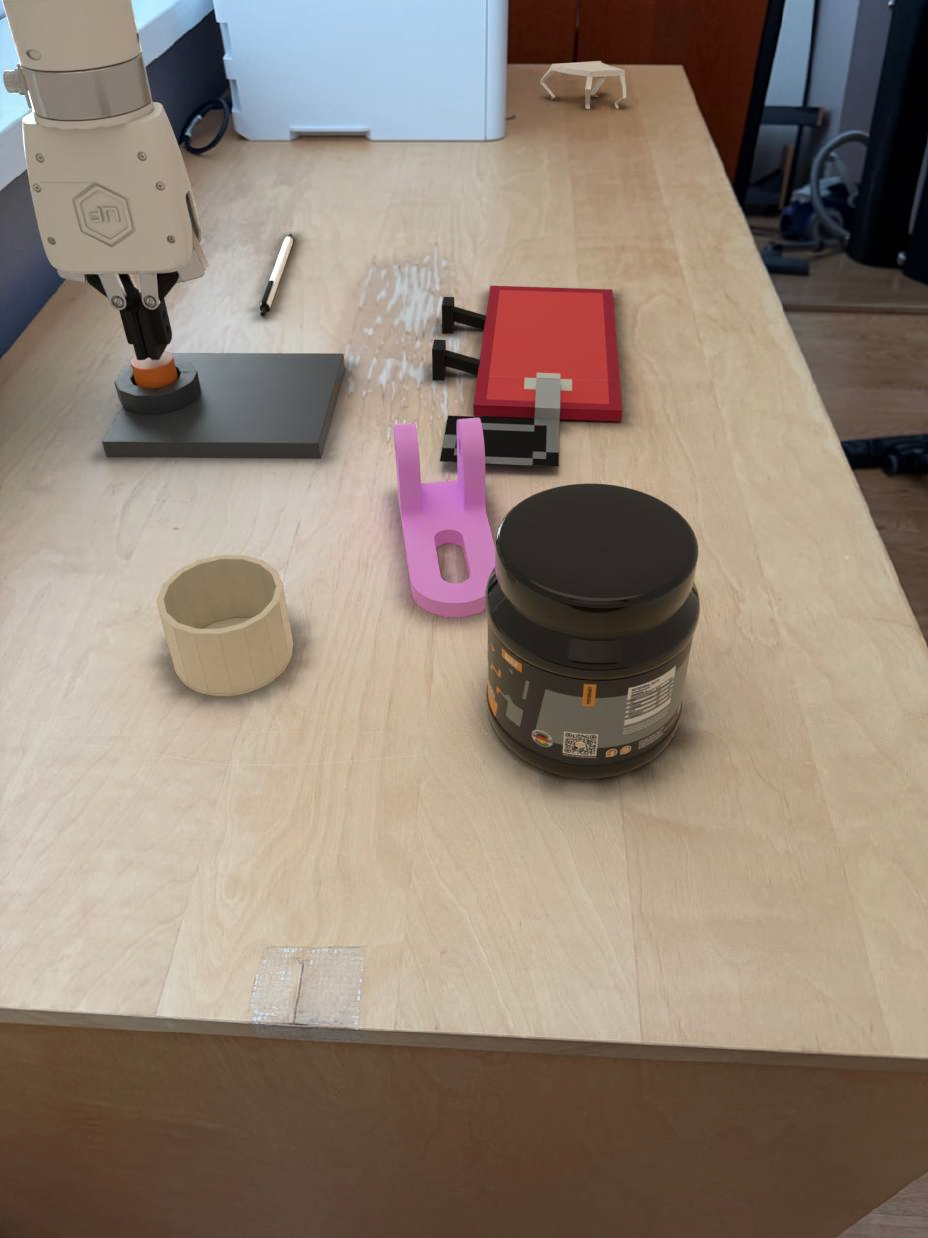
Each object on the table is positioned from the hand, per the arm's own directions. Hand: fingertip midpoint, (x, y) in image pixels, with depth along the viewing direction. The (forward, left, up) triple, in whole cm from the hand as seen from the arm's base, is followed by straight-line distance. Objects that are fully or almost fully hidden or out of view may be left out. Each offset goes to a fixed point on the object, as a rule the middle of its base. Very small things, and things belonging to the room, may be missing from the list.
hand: (153, 351), depth 79 cm
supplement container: (+31, -32, -5) cm, 45 cm away
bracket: (+23, -18, -5) cm, 30 cm away
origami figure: (+36, +84, -5) cm, 92 cm away
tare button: (0, 0, -2) cm, 2 cm away
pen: (+4, +26, -5) cm, 27 cm away
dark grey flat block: (+5, 0, -5) cm, 7 cm away
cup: (+11, -28, -5) cm, 31 cm away
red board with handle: (+28, +6, -5) cm, 29 cm away
